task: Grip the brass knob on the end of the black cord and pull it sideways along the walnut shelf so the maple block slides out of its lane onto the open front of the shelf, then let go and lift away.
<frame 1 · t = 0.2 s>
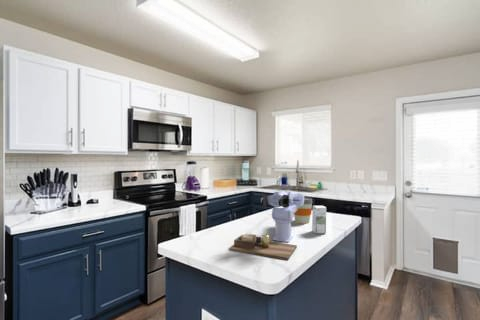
hand: (270, 202, 111), 21 cm above the table, tool horizontal, fingers open, 7 cm apart
syrup box: (319, 232, 141), on the table
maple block: (249, 244, 118), point 1 cm above the table, touching walnut lane shelf
walnut lane shelf: (263, 248, 115), on the table
reusable coffee cup: (302, 222, 165), on the table
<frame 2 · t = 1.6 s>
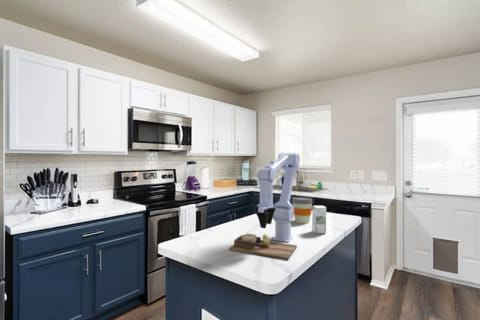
hand: (266, 225, 115), 10 cm above the table, tool pointing down, fingers open, 7 cm apart
nothing on the table moved.
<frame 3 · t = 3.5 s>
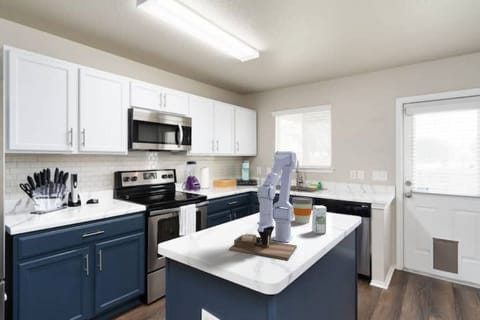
hand: (265, 243, 115), 2 cm above the table, tool pointing down, fingers closed on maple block, 3 cm apart
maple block: (249, 244, 118), point 1 cm above the table, touching gripper, walnut lane shelf
everything else where it was.
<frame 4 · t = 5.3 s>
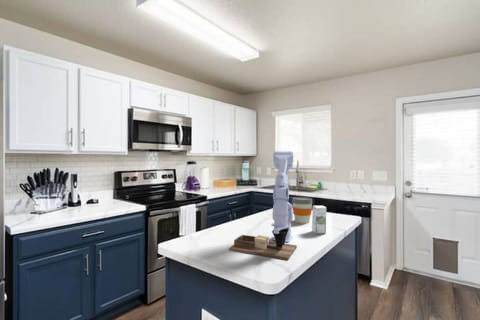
hand: (280, 246, 112), 2 cm above the table, tool pointing down, fingers closed on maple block, 3 cm apart
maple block: (261, 246, 116), point 1 cm above the table, touching gripper
everything else where it was.
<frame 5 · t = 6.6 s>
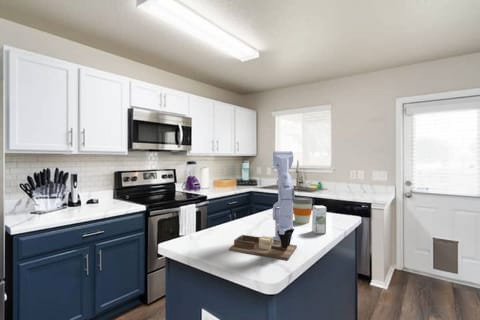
hand: (285, 246, 111), 2 cm above the table, tool pointing down, fingers closed on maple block, 3 cm apart
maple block: (266, 247, 115), point 1 cm above the table, touching gripper, walnut lane shelf
everything else where it was.
when the fingers open (2 cm above the table, at t = 7.2 s): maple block stays where it is, resting on walnut lane shelf.
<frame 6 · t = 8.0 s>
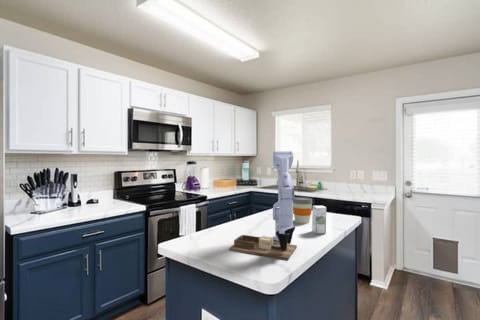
hand: (285, 246, 111), 3 cm above the table, tool pointing down, fingers open, 7 cm apart
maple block: (266, 247, 115), point 1 cm above the table, touching walnut lane shelf
everything else where it was.
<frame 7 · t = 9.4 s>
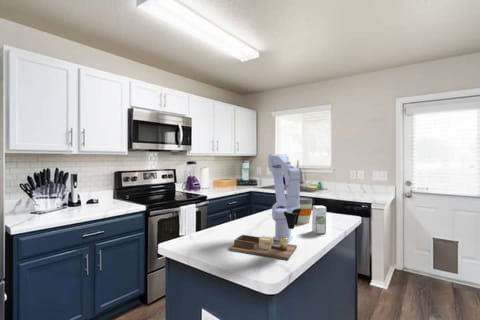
hand: (292, 226, 114), 10 cm above the table, tool pointing down, fingers open, 7 cm apart
nothing on the table moved.
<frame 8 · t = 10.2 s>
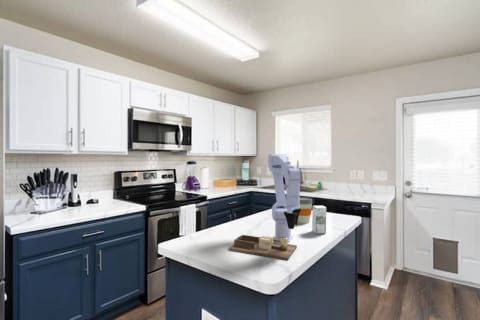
hand: (292, 226, 114), 10 cm above the table, tool pointing down, fingers open, 7 cm apart
nothing on the table moved.
at the end: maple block inside the target area (1.9 cm from its centre), point 1.0 cm above the table; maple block tilted 0°; the gripper is holding nothing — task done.
